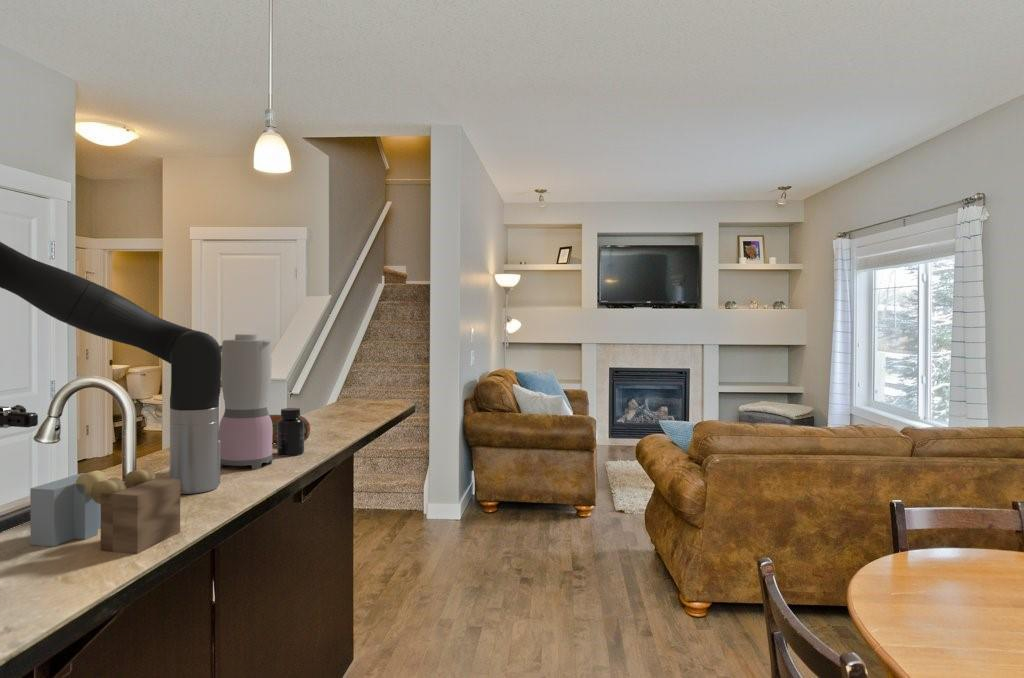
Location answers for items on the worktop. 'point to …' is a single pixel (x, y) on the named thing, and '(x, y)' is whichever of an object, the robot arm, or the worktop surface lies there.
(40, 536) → the grey block
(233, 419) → the blender
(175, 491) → the fixed leaf
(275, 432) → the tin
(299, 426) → the supplement bottle
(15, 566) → the worktop surface
